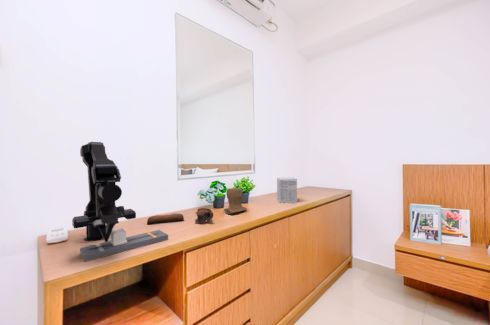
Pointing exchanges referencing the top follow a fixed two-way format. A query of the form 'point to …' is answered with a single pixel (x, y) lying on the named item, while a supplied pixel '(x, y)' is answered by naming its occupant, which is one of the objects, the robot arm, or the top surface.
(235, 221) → the top surface
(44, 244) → the top surface
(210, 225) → the top surface
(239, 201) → the brown rounded stand
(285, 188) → the supplement box
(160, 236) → the fader track
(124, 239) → the fader knob
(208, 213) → the pottery mug
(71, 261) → the top surface
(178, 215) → the sunglasses case
